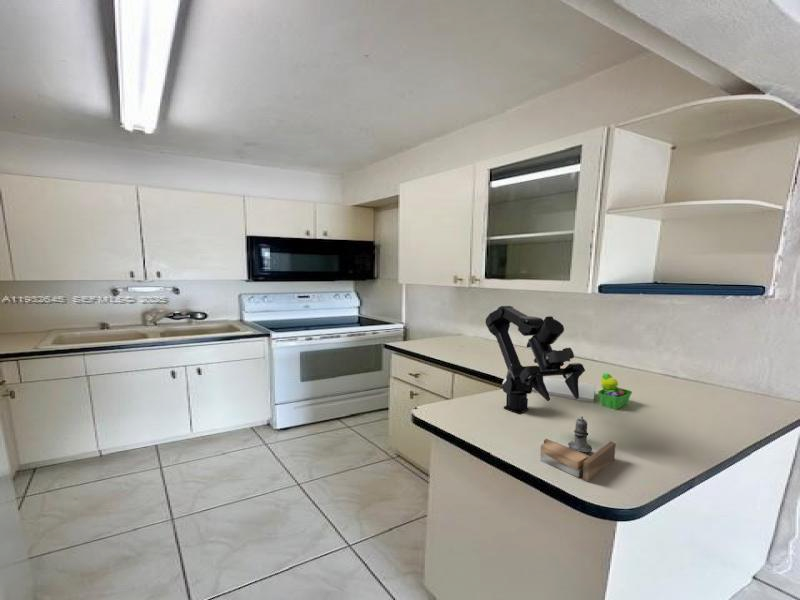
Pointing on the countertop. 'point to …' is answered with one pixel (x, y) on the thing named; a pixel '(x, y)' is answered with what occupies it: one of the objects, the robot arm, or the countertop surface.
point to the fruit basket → (612, 393)
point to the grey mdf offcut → (561, 465)
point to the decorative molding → (567, 389)
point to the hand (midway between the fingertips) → (563, 399)
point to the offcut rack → (595, 460)
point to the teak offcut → (563, 455)
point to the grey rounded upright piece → (580, 438)
